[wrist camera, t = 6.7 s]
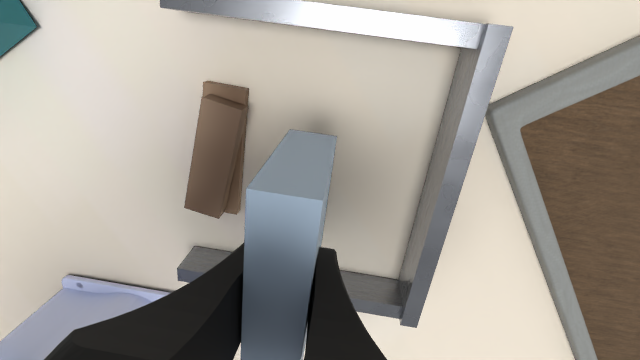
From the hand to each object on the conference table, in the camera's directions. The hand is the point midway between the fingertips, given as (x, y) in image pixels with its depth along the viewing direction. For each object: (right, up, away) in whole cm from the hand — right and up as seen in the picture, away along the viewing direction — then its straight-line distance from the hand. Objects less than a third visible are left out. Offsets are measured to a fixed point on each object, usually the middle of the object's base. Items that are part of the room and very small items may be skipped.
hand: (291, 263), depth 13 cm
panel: (0, +1, +3) cm, 3 cm away
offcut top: (-5, +5, +7) cm, 10 cm away
